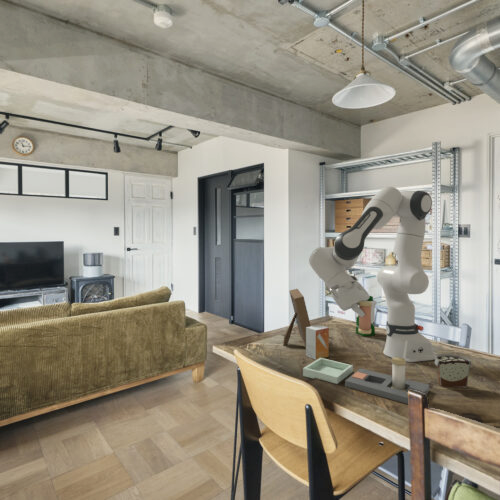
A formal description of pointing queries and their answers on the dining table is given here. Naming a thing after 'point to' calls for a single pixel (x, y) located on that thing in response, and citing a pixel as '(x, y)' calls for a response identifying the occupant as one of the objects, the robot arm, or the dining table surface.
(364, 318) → the marked fuse
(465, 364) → the food container
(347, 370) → the tray
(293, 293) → the photo frame
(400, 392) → the block
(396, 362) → the cylinder
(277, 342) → the dining table surface
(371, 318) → the milk carton
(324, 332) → the small box
